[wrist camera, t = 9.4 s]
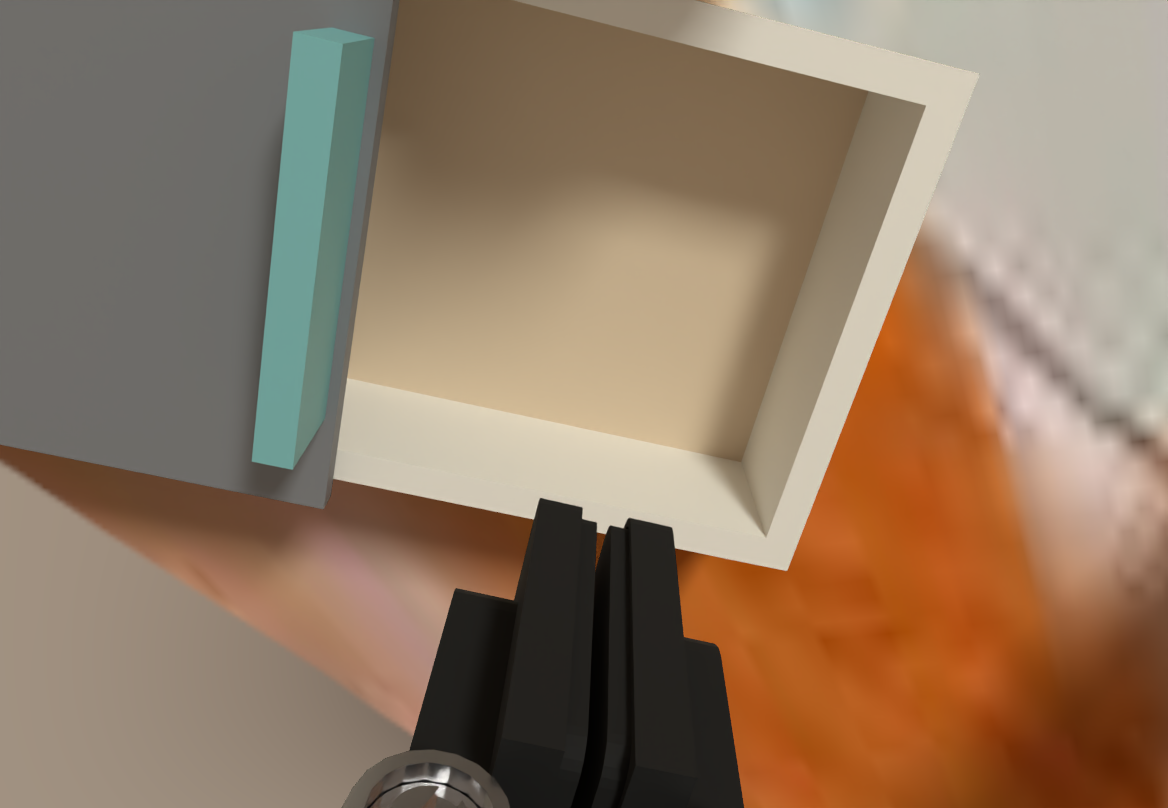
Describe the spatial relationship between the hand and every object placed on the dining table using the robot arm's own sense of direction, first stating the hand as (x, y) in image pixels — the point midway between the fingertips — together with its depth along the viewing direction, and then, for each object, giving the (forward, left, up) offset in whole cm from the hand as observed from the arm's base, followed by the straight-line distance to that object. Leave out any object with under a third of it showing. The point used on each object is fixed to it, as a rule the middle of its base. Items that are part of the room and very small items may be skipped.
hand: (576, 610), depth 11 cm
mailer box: (+2, 0, -21) cm, 21 cm away
